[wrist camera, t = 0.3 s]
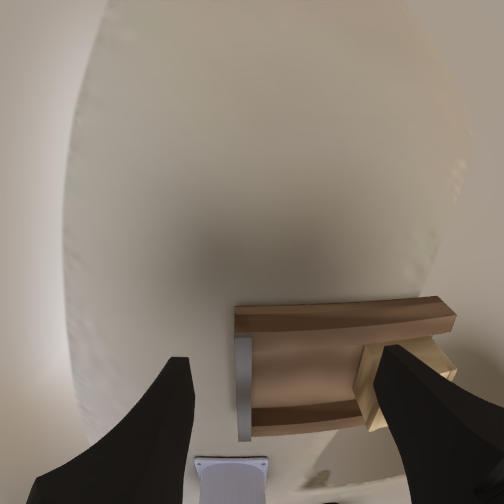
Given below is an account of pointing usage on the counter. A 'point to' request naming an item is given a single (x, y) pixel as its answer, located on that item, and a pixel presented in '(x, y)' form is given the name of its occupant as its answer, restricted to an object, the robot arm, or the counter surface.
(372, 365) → the box
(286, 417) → the bay
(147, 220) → the counter surface
